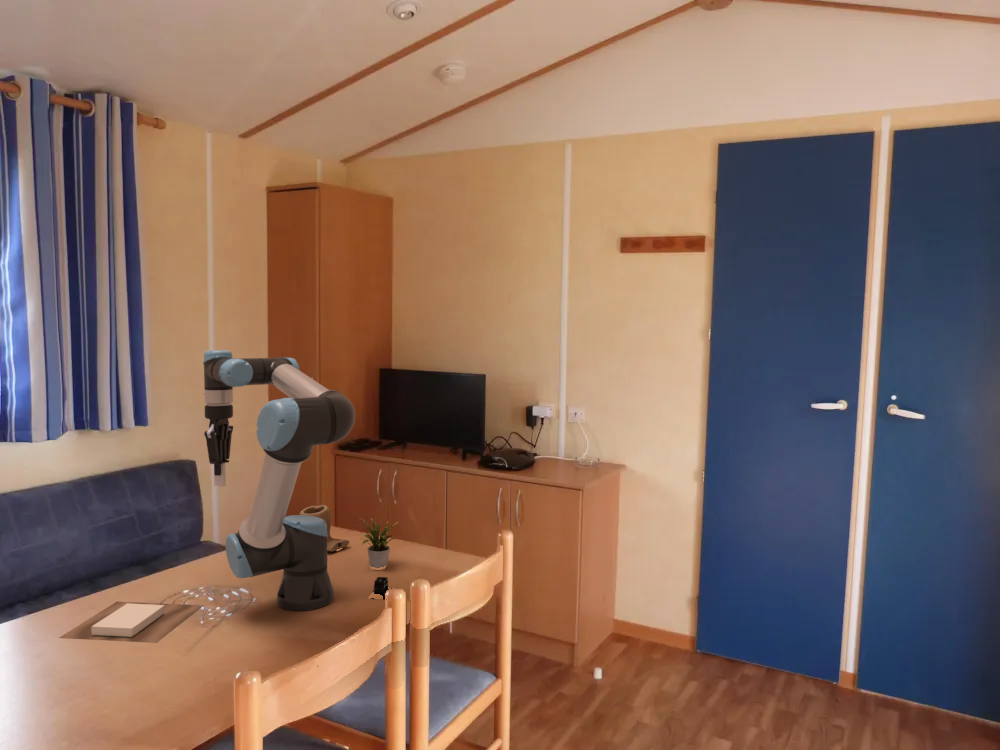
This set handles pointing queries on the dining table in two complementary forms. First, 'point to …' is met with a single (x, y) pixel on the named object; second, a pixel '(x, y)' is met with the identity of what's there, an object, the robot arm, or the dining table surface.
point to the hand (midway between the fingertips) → (219, 485)
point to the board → (149, 634)
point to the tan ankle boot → (325, 514)
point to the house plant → (378, 545)
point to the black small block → (381, 586)
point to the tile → (128, 620)
